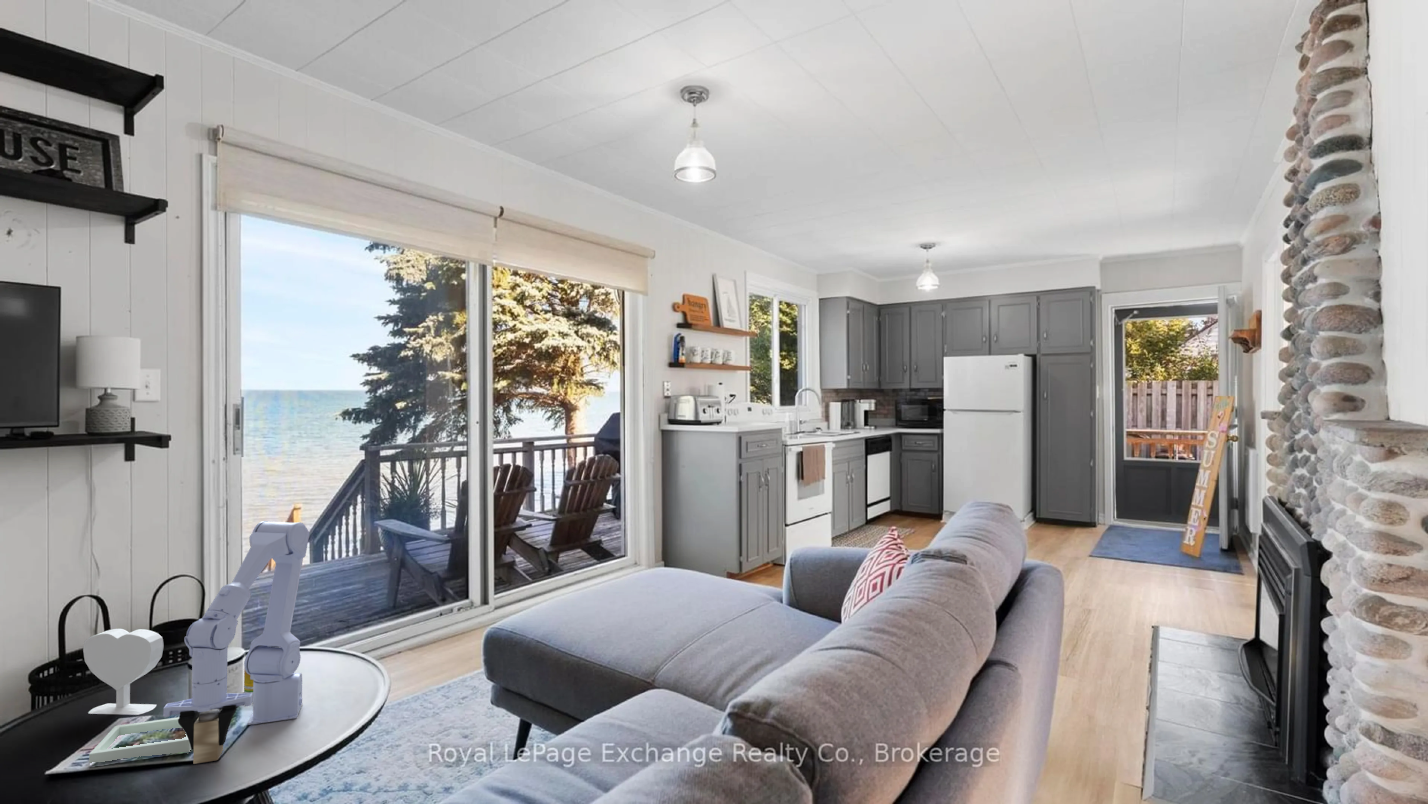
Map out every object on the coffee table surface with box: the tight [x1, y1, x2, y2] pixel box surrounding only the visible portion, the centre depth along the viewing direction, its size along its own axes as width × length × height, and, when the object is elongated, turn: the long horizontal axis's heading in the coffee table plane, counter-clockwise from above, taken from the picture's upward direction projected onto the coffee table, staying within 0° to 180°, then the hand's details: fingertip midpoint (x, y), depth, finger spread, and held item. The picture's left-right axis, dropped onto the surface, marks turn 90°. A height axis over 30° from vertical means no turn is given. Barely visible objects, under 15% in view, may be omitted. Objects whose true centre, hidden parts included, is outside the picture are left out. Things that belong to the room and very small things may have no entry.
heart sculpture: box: [82, 628, 164, 716], centre depth 156 cm, size 16×5×18 cm, turn 90°
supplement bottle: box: [243, 668, 253, 693], centre depth 167 cm, size 5×5×10 cm
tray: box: [88, 717, 192, 764], centre depth 140 cm, size 16×12×3 cm
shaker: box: [192, 708, 224, 765], centre depth 137 cm, size 4×4×9 cm
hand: (208, 744), depth 137 cm, fingers closed on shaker, 4 cm apart
